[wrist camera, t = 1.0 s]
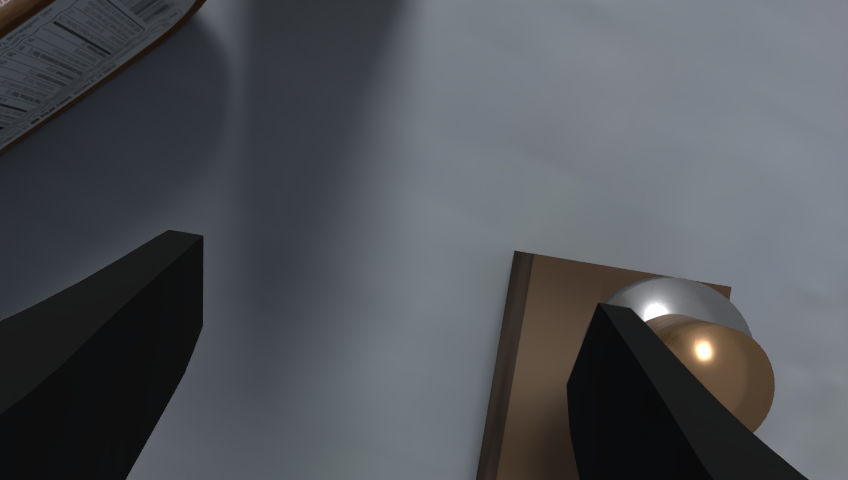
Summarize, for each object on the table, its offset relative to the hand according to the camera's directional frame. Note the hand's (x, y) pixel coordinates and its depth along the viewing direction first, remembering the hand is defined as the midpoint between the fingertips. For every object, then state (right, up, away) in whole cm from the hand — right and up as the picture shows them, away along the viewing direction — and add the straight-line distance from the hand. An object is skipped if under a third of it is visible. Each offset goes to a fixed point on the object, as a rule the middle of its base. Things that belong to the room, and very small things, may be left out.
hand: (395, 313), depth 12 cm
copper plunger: (+7, -2, +11) cm, 13 cm away
